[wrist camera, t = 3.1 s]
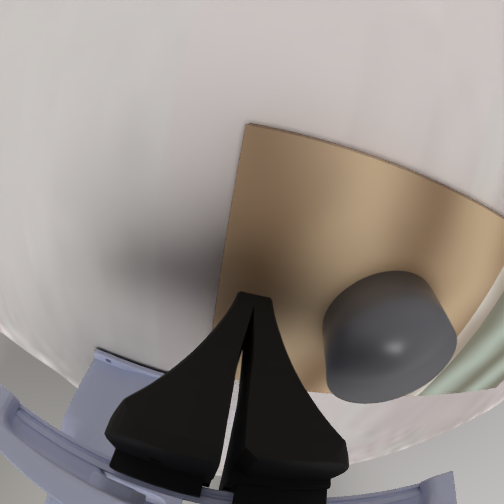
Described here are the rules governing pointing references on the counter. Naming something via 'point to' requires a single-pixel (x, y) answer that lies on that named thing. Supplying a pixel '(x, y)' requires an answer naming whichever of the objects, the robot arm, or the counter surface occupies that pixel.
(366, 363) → the puck
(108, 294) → the counter surface
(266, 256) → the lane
